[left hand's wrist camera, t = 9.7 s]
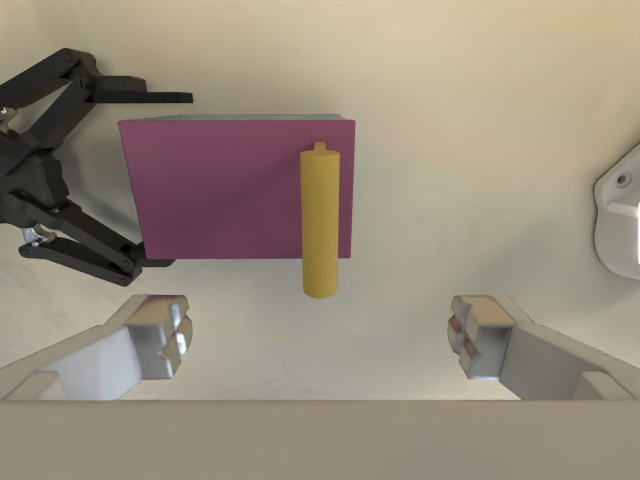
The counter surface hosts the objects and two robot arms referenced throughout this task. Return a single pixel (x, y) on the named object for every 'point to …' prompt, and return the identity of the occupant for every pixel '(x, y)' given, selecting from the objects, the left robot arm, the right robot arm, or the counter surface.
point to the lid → (245, 191)
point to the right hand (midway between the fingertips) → (198, 179)
